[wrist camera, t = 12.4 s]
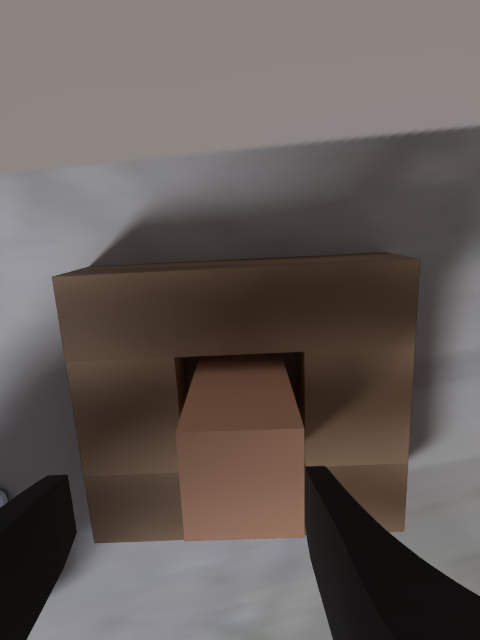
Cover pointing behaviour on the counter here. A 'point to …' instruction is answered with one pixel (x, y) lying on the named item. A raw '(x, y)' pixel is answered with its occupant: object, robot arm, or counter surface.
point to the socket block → (234, 339)
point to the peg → (241, 451)
